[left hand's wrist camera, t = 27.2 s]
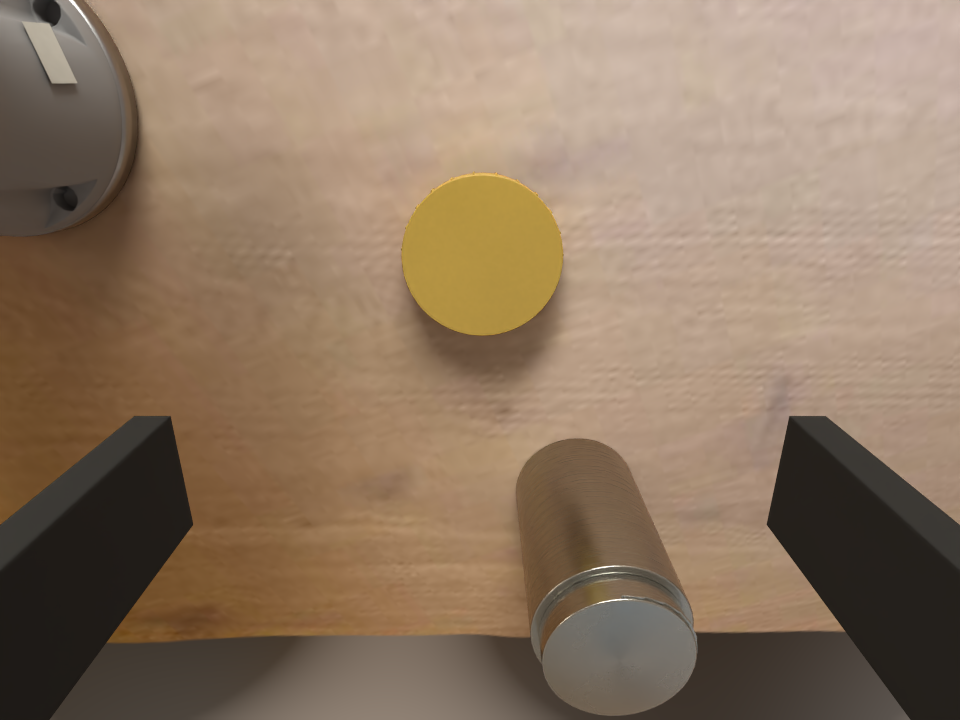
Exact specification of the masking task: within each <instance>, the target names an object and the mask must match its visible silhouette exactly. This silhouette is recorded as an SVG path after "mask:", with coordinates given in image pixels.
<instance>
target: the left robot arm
mask: <svg viewBox="0 0 960 720" xmlns="http://www.w3.org/2000/svg"><path fill="white" fill-rule="evenodd" d="M137 137H138V117H137V107H136V101H135V96H134V91H133V87H132V84H131V80H130V77H129V74H128V71H127V69H126V66H125V63H124V61H123V59H122V57H121V54H120V52H119V50H118V48H117V46H116V44H115V43H114V41H113V39H112V37H111V36H110V34H109V32H108V31H107V29H106V28H105V26H104V25H103V23H102V22H101V20H100V19H99V18H98V17H97V15H96V14H95V13H94V12H93V10H92V9H91V8H90V7H89V5H88V4H87V3H86V2H85V1H84V0H0V235H1V236H35V235H42V234H47V233H51V232H56V231H60V230H65V229H68V228H71V227H74V226H77V225H79V224H82V223H84V222H86V221H88V220H90V219H91V218H93V217H94V216H96V215H97V214H99V213H100V212H101V211H102V210H104V209H105V208H106V207H107V206H108V205H109V204H110V203H111V202H112V201H113V200H114V198H115V197H116V196H117V194H118V193H119V192H120V190H121V189H122V187H123V185H124V183H125V182H126V180H127V177H128V175H129V173H130V170H131V167H132V164H133V161H134V157H135V152H136V147H137ZM192 526H193V521H192V516H191V512H190V507H189V502H188V497H187V493H186V488H185V483H184V478H183V474H182V469H181V464H180V459H179V454H178V450H177V445H176V440H175V435H174V431H173V426H172V421H171V416H134V417H133V418H131V419H130V420H129V421H128V422H127V423H125V424H124V425H123V426H122V427H120V428H119V429H118V430H117V431H115V432H114V433H113V434H112V435H111V436H109V437H108V438H107V439H106V440H104V441H103V442H102V443H101V444H99V445H98V446H97V447H96V448H95V449H93V450H92V451H91V452H90V453H88V454H87V455H86V456H85V457H83V458H82V459H81V460H80V461H79V462H77V463H76V464H75V465H74V466H72V467H71V468H70V469H69V470H67V471H66V472H65V473H64V474H62V475H61V476H60V477H59V478H58V479H56V480H55V481H54V482H53V483H51V484H50V485H49V486H48V487H46V488H45V489H44V490H43V491H42V492H40V493H39V494H38V495H37V496H35V497H34V498H33V499H32V500H30V501H29V502H28V503H27V504H26V505H24V506H23V507H22V508H21V509H19V510H18V511H17V512H16V513H14V514H13V515H12V516H11V517H10V518H8V519H7V520H6V521H5V522H3V523H2V524H1V525H0V720H49V719H50V718H51V717H52V715H53V714H54V713H55V711H56V710H57V709H58V707H59V706H60V705H61V703H62V702H63V700H64V699H65V698H66V696H67V695H68V694H69V692H70V691H71V690H72V688H73V687H74V685H75V684H76V683H77V681H78V680H79V679H80V677H81V676H82V675H83V673H84V672H85V671H86V669H87V668H88V667H89V665H90V664H91V663H92V661H93V660H94V658H95V657H96V656H97V654H98V653H99V652H100V650H101V649H102V648H103V646H104V645H105V644H106V642H107V641H108V639H109V638H110V637H111V635H112V634H113V633H114V631H115V630H116V629H117V627H118V626H119V625H120V623H121V622H122V620H123V619H124V618H125V616H126V615H127V614H128V612H129V611H130V610H131V608H132V607H133V606H134V604H135V603H136V601H137V600H138V599H139V597H140V596H141V595H142V593H143V592H144V591H145V589H146V588H147V587H148V585H149V584H150V582H151V581H152V580H153V578H154V577H155V576H156V574H157V573H158V572H159V570H160V569H161V568H162V566H163V565H164V564H165V562H166V561H167V559H168V558H169V557H170V555H171V554H172V553H173V551H174V550H175V549H176V547H177V546H178V545H179V543H180V542H181V540H182V539H183V538H184V536H185V535H186V534H187V532H188V531H189V530H190V528H191V527H192ZM767 526H768V527H769V528H770V530H771V531H772V532H773V534H774V535H775V536H776V538H777V539H778V540H779V542H780V543H781V545H782V546H783V547H784V549H785V550H786V551H787V553H788V554H789V555H790V557H791V558H792V559H793V561H794V562H795V564H796V565H797V566H798V568H799V569H800V570H801V572H802V573H803V574H804V576H805V577H806V578H807V580H808V581H809V582H810V584H811V585H812V587H813V588H814V589H815V591H816V592H817V593H818V595H819V596H820V597H821V599H822V600H823V601H824V603H825V604H826V606H827V607H828V608H829V610H830V611H831V612H832V614H833V615H834V616H835V618H836V619H837V620H838V622H839V623H840V625H841V626H842V627H843V629H844V630H845V631H846V633H847V634H848V635H849V637H850V638H851V639H852V641H853V642H854V644H855V645H856V646H857V648H858V649H859V650H860V652H861V653H862V654H863V656H864V657H865V658H866V660H867V661H868V663H869V664H870V665H871V667H872V668H873V669H874V671H875V672H876V673H877V675H878V676H879V677H880V679H881V680H882V681H883V683H884V684H885V686H886V687H887V688H888V690H889V691H890V692H891V694H892V695H893V696H894V698H895V699H896V700H897V702H898V703H899V705H900V706H901V707H902V709H903V710H904V711H905V713H906V714H907V715H908V717H909V718H910V719H911V720H960V525H959V524H958V523H957V522H955V521H954V520H953V519H952V518H950V517H949V516H948V515H947V514H946V513H944V512H943V511H942V510H941V509H939V508H938V507H937V506H936V505H934V504H933V503H932V502H931V501H930V500H928V499H927V498H926V497H925V496H923V495H922V494H921V493H920V492H918V491H917V490H916V489H915V488H914V487H912V486H911V485H910V484H909V483H907V482H906V481H905V480H904V479H902V478H901V477H900V476H899V475H898V474H896V473H895V472H894V471H893V470H891V469H890V468H889V467H888V466H886V465H885V464H884V463H883V462H881V461H880V460H879V459H878V458H877V457H875V456H874V455H873V454H872V453H870V452H869V451H868V450H867V449H865V448H864V447H863V446H862V445H861V444H859V443H858V442H857V441H856V440H854V439H853V438H852V437H851V436H849V435H848V434H847V433H846V432H845V431H843V430H842V429H841V428H840V427H838V426H837V425H836V424H835V423H833V422H832V421H831V420H830V419H829V418H827V417H826V416H789V421H788V426H787V431H786V435H785V440H784V445H783V450H782V454H781V459H780V464H779V469H778V474H777V478H776V483H775V488H774V493H773V497H772V502H771V507H770V512H769V516H768V521H767Z"/></svg>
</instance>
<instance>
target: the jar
mask: <svg viewBox="0 0 960 720" xmlns="http://www.w3.org/2000/svg"><path fill="white" fill-rule="evenodd" d="M516 497H517V507H518V517H519V527H520V537H521V547H522V557H523V566H524V576H525V586H526V596H527V606H528V616H529V626H530V636H531V643H532V647H533V650H534V652H535V654H536V656H537V658H538V659H539V661H540V662H541V664H542V669H543V673H544V677H545V679H546V681H547V683H548V685H549V686H550V688H551V689H552V690H553V692H554V693H555V694H556V695H557V696H558V697H559V698H561V699H562V700H563V701H564V702H566V703H567V704H569V705H571V706H573V707H575V708H577V709H579V710H582V711H585V712H588V713H593V714H598V715H606V716H619V715H629V714H634V713H638V712H642V711H646V710H648V709H651V708H654V707H656V706H658V705H660V704H662V703H664V702H665V701H667V700H668V699H670V698H671V697H673V696H674V695H675V694H676V693H677V692H679V691H680V690H681V689H682V688H683V686H684V685H685V684H686V683H687V681H688V680H689V678H690V676H691V675H692V673H693V670H694V668H695V664H696V659H697V653H698V650H697V636H696V634H695V631H694V629H693V613H692V609H691V606H690V604H689V601H688V599H687V597H686V595H685V592H684V590H683V588H682V586H681V583H680V581H679V579H678V577H677V575H676V572H675V570H674V568H673V566H672V563H671V561H670V559H669V557H668V554H667V552H666V550H665V548H664V546H663V543H662V541H661V539H660V537H659V534H658V532H657V530H656V528H655V525H654V523H653V521H652V519H651V516H650V514H649V512H648V510H647V508H646V505H645V503H644V501H643V499H642V496H641V494H640V492H639V490H638V487H637V485H636V483H635V481H634V479H633V476H632V474H631V472H630V470H629V468H628V466H627V464H626V462H625V461H624V460H623V458H622V457H621V456H620V455H619V454H618V453H617V452H616V451H614V450H613V449H612V448H610V447H608V446H606V445H604V444H602V443H599V442H596V441H593V440H587V439H567V440H562V441H558V442H555V443H552V444H550V445H548V446H546V447H544V448H543V449H541V450H539V451H538V452H537V453H535V454H534V455H533V456H532V457H531V458H530V459H529V460H528V461H527V463H526V464H525V465H524V467H523V469H522V470H521V472H520V475H519V477H518V481H517V485H516Z"/></svg>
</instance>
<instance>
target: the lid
mask: <svg viewBox="0 0 960 720" xmlns="http://www.w3.org/2000/svg"><path fill="white" fill-rule="evenodd" d="M415 209H416V210H415V212H414V213H413V215H412V217H411V219H410V221H409V223H408V225H407V226H406V228H405V229H406V231H405V234H404V238H403V244H402V248H401V250H402V268H403V272H404V277H405V280H406V283H407V285H408V288H409V290H410V292H411V294H412V296H413V297H414V299H415V300H416V302H417V303H418V305H419V306H420V307H421V308H422V309H423V310H424V311H425V313H427V314H428V315H429V316H430V317H431V318H432V319H434V320H435V321H437V322H438V323H440V324H441V325H443V326H445V327H447V328H449V329H451V330H454V331H457V332H460V333H464V334H469V335H478V336H486V335H495V334H501V333H504V332H508V331H511V330H513V329H515V328H518V327H520V326H521V325H523V324H525V323H526V322H528V321H529V320H531V319H532V318H533V317H535V316H536V315H537V314H538V313H539V312H540V311H541V310H542V309H543V308H544V306H545V305H546V304H547V302H548V301H549V300H550V298H551V296H552V295H553V293H554V291H555V289H556V287H557V284H558V282H559V278H560V275H561V271H562V264H563V247H562V239H561V236H560V234H561V232H560V231H559V229H558V226H557V224H556V221H555V219H554V217H553V216H552V211H551V210H550V209H548V208H547V207H546V205H545V204H544V203H543V201H542V200H541V199H540V198H539V197H538V194H537V193H536V192H533V191H531V190H530V189H529V188H527V187H526V186H525V185H523V184H521V183H519V181H518V180H517V179H516V180H514V179H511V178H509V177H506V176H502V175H498V174H497V173H496V172H495V174H492V173H475V172H473V173H472V174H466V175H462V176H459V177H456V178H453V177H452V178H451V179H450V180H449V181H447V182H445V183H443V184H442V185H440V186H439V187H437V188H436V189H434V188H433V189H432V190H431V193H430V194H429V195H428V196H427V197H426V198H425V199H424V200H423V201H422V203H421V204H420V205H419V204H418V205H417V206H416V208H415Z"/></svg>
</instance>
